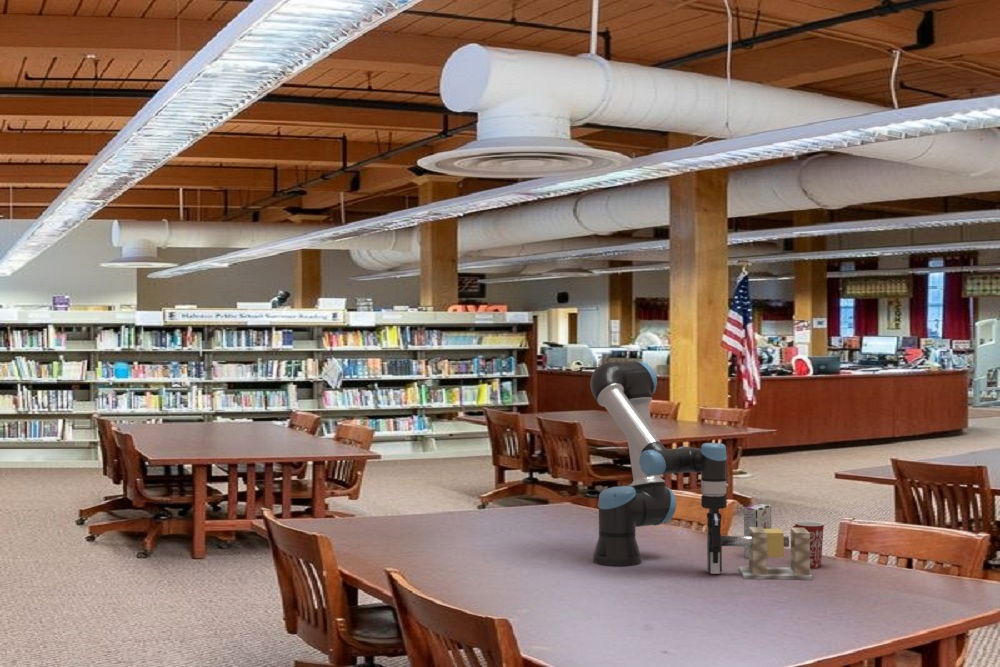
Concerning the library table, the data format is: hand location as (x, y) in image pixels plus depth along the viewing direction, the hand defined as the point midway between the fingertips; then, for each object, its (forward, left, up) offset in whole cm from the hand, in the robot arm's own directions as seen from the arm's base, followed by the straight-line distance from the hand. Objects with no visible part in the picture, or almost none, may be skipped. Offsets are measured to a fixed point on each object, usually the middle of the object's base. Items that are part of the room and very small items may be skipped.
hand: (714, 571), depth 360 cm
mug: (+30, +16, -1) cm, 34 cm away
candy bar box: (+17, +30, -1) cm, 35 cm away
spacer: (+18, 0, +5) cm, 18 cm away
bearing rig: (+17, 0, -1) cm, 17 cm away
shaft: (+10, 0, 0) cm, 10 cm away
